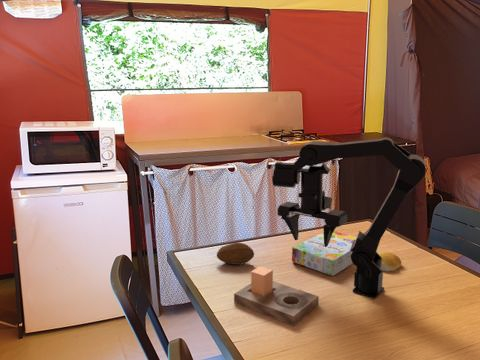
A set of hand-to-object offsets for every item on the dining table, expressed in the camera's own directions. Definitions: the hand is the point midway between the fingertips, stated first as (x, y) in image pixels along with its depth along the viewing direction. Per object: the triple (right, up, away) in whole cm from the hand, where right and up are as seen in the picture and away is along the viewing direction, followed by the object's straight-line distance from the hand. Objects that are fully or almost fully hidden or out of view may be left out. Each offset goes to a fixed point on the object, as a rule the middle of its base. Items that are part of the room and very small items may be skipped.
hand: (311, 243), depth 125 cm
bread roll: (+25, -9, +13) cm, 29 cm away
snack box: (+3, -4, +23) cm, 23 cm away
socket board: (-10, -14, -9) cm, 20 cm away
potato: (-21, -9, +16) cm, 28 cm away
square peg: (-14, -14, -6) cm, 21 cm away
